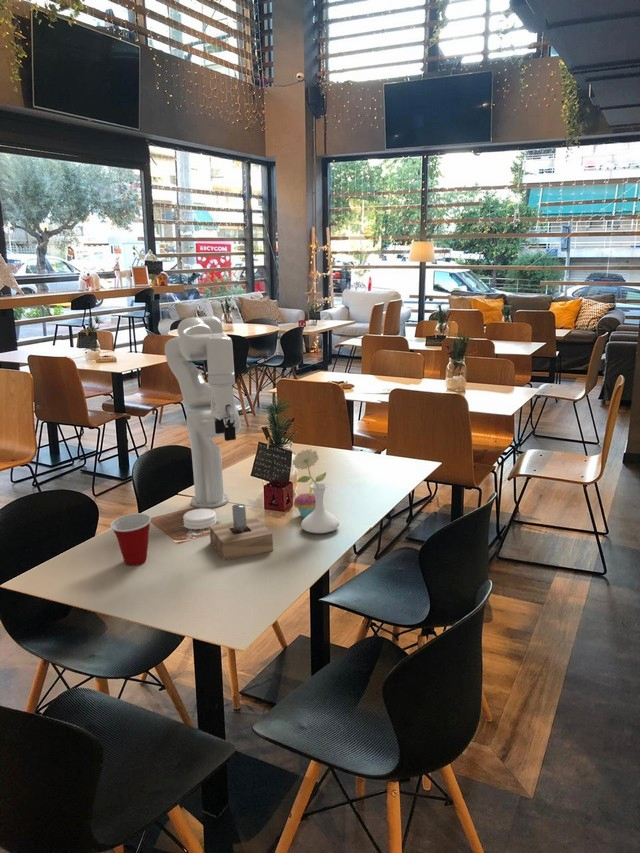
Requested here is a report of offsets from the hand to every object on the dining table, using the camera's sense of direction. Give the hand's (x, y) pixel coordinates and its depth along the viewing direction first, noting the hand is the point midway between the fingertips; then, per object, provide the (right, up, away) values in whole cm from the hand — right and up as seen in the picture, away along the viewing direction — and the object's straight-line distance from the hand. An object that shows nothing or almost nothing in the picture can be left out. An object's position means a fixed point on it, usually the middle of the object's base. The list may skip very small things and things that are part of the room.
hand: (225, 436), depth 207 cm
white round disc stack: (-9, -28, +10) cm, 31 cm away
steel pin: (+6, -31, -8) cm, 33 cm away
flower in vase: (+27, -28, +2) cm, 39 cm away
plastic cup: (-22, -34, -16) cm, 44 cm away
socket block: (+6, -31, -8) cm, 33 cm away
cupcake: (+24, -25, +13) cm, 37 cm away
